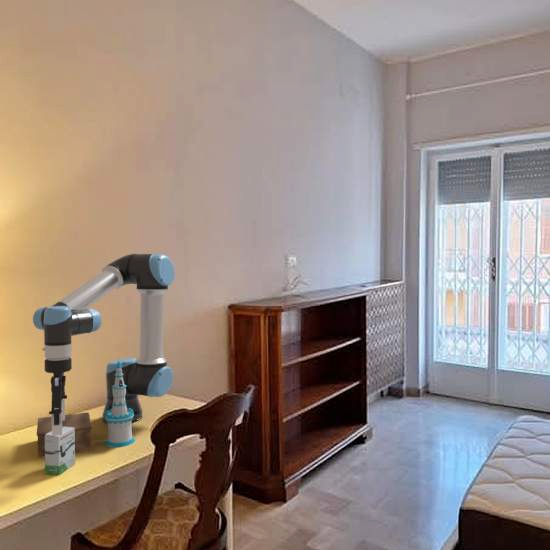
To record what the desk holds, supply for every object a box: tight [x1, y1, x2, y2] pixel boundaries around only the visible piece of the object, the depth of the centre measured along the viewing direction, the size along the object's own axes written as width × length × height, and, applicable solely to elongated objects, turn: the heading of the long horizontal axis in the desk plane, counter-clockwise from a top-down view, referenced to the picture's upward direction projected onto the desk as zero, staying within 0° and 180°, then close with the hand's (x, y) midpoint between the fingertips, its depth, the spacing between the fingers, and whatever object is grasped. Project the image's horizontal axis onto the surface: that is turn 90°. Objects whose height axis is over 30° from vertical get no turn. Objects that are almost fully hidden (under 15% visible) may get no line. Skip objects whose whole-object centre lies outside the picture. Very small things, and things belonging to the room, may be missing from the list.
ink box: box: [44, 426, 76, 476], centre depth 157 cm, size 9×5×12 cm, turn 168°
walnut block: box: [36, 412, 92, 458], centre depth 176 cm, size 17×17×8 cm
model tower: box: [104, 356, 136, 448], centre depth 178 cm, size 10×10×30 cm
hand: (58, 427), depth 156 cm, fingers open, 13 cm apart
